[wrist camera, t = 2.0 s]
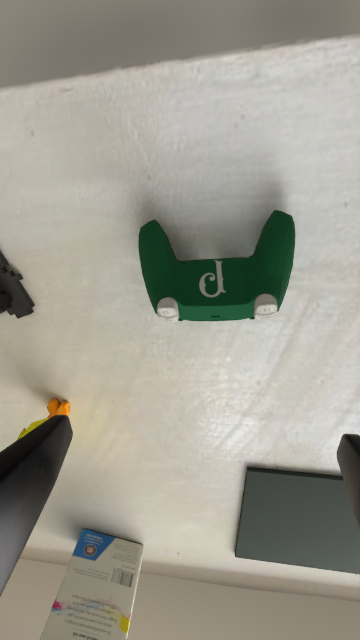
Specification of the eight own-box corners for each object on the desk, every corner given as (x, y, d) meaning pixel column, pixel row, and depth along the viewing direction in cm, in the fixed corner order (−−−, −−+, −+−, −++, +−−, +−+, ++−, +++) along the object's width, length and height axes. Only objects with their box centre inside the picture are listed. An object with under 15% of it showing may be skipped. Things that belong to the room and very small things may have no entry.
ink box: (79, 545, 36) (2, 745, 23) (83, 526, 34) (0, 735, 21) (139, 561, 36) (96, 771, 23) (146, 544, 34) (103, 764, 21)
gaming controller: (151, 251, 20) (146, 327, 18) (136, 215, 16) (127, 306, 14) (280, 243, 18) (290, 324, 16) (295, 202, 15) (310, 300, 13)
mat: (451, 487, 24) (455, 491, 23) (392, 574, 30) (394, 579, 30) (247, 467, 26) (247, 470, 25) (234, 553, 32) (235, 557, 32)
